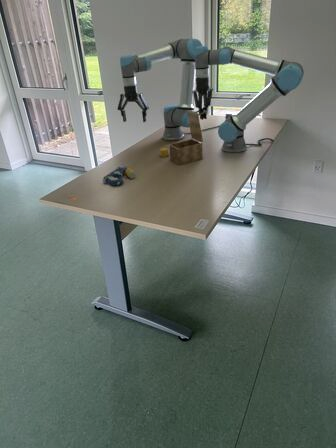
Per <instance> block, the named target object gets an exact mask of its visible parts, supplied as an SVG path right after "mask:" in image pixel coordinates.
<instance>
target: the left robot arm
mask: <svg viewBox="0 0 336 448" xmlns="http://www.w3.org/2000/svg"><path fill="white" fill-rule="evenodd" d="M199 46H204V45H203V43H202V42H201V40H199V39H198V38H179V39H176V40H173V41H171V42H168V43H165V44H164V46H160V47H158V48H153V49H151V50H148V51H143V52H141V53H138V54H135V55H122V56H120V58H119V64H120V71H121V77H122V84H123V92H124V93H120V94H119V95H120V96H119V101H118V105H117V110H118V111H120V116H121V117H122V121H123V123H125V122H127V115H126V110H125V108H126V106H127V105H128V103H136V104H137V106H139V108H140V109H141V115H142V122H143V123H146V122H147V116H148V114H147V111H148V110H150V107H149V105H148V103H147V102H146V100H145V98H144V95H143V93H142V92H141V93H138V87H137V79H136V73H137V74H138V73H142V72H147V71H151V69H152V68H153V64H156V63H159V62H162V61H165V60H169V61H170V60H180V63H181V64H182V67H181V69H182V71H181V81H180V82H181V83H180V95H179V103H178V104H172V105H166V106H165V107H163V113H162V114H163V122H164V130H163V135H162V139H163V140H164V141H167V142H176V141H180V140H182V139H184V137H185V136H184V135H191V132H183V129H182V128H189V129H190V126H189V121H188V116H187V110H190V111H193V112H196V111H195V105H193V102H194V95H193V93H192V91H194V90H195V81H196V76H195V48H196V47H199ZM257 117H262V115H261V114H259V115H258V116H257ZM220 125H221V124H219V125H215V126H213V127H208V128H205V129H201V132H204V131H207V130H212V129H215V128H219V126H220Z"/></svg>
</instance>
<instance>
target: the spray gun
mask: <svg viewBox="0 0 336 448" xmlns="http://www.w3.org/2000/svg"><path fill="white" fill-rule="evenodd" d="M124 175H125V176H126V177H128V178H129V179H131V180H132V179H135V177H136V172H135V171H133V170H132V169H131V168H128V167H127V165H124V166H117V167H116V168H115V169H113V170H112V171H111V172H108V174H106V175H105V176H104V177H103V179H102V182H103V183H105V184H109V185H111V186H113V187H114V186H115V187H116V186H120V185H122V184H123V183H124V181H125V178H124Z"/></svg>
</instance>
